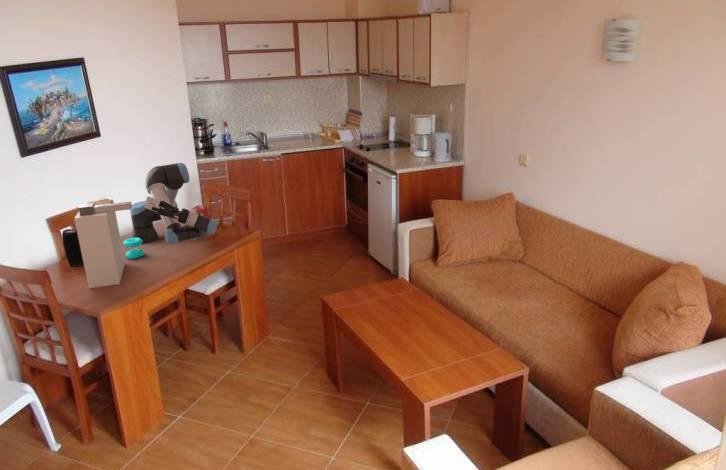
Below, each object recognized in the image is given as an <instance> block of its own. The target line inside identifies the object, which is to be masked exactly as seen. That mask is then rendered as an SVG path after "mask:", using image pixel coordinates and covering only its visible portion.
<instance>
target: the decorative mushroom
mask: <svg viewBox="0 0 726 470" xmlns="http://www.w3.org/2000/svg"><path fill="white" fill-rule="evenodd" d="M191 211H192V212H194V213H195V212H197V214H200V215H202V216H205V217H208V218H210V217H211V216H212V211H211V210H210V208H209V207H208V206H206V205H204V204H199V205H196V206H193V208H192V209H191ZM191 211H190V212H191Z"/></svg>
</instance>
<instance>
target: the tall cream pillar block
mask: <svg viewBox="0 0 726 470" xmlns="http://www.w3.org/2000/svg"><path fill="white" fill-rule="evenodd" d="M86 203H95V205H103V204H112V203H115V201H114V200H113V199H105V200H95V201H94V200H93V201H87V202H86ZM116 212H117V211H111V212H102V213H94V214H93V215H84V216H80V213H79V211H78V212H77V214H76V215H75V216H74V224H75V229H77V234H78V239H79V243H80V248H81V253H82V258H83V262H84V263H83V266H84V271H85V276H86V281H87V286H88V288H89V289H95V288H101V287H107V286H115V285H120V283H121V280H122V276H123V273H124V268H125V265H126V262H125V257H124V255H125V254H124V251H123V246H122V245H123V244H122V240H121V235H120V230H119V225H118V219H117V213H116Z"/></svg>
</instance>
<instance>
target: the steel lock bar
mask: <svg viewBox="0 0 726 470" xmlns="http://www.w3.org/2000/svg"><path fill="white" fill-rule="evenodd" d="M132 205H133V204H132V201H125V202H123V201H122V202H114V203H112V204H103V205H95V203H87V202H84V203H80V204H79V206H78V212H79V213H80V216H84V215H93V214H94V213H102V212H111V211H115V212H118V211H128V210H129V211H130V209H132Z"/></svg>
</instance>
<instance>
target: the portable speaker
mask: <svg viewBox="0 0 726 470" xmlns="http://www.w3.org/2000/svg"><path fill="white" fill-rule="evenodd" d="M61 236H62V244H63V250H64V254H65V257H66V260H67V262H68V263H67V264H68V265H70V267H72V266H74V267H79V266H78V265H80V266H82V264H83V265H84V262H83V258H82V253H81V248H80V243H79V239H78V234H77V229H76V228H72V229H71V228H67V229H64V230H62V235H61Z"/></svg>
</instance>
